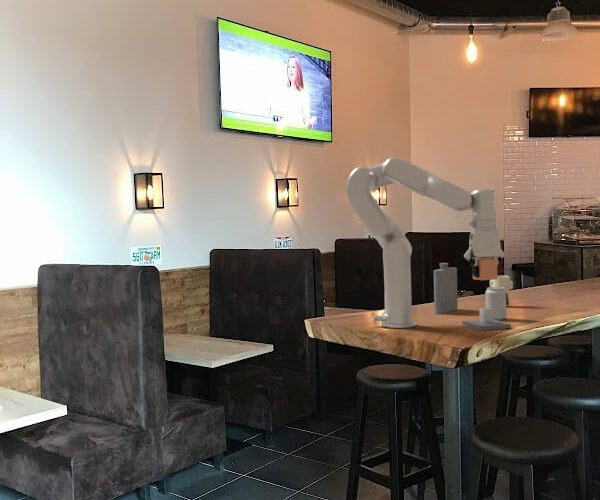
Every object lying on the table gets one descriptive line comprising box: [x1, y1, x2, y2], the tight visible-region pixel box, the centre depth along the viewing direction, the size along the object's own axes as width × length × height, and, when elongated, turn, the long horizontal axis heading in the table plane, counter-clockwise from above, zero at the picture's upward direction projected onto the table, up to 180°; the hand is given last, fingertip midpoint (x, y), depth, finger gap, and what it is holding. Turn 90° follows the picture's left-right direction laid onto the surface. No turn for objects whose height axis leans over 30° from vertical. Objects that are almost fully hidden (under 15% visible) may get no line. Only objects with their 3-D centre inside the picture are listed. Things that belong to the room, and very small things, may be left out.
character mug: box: [489, 275, 514, 306], centre depth 275 cm, size 11×7×13 cm, turn 41°
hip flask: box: [433, 262, 458, 315], centre depth 265 cm, size 16×4×20 cm, turn 139°
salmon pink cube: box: [472, 257, 498, 281], centre depth 225 cm, size 6×6×7 cm
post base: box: [461, 307, 512, 332], centre depth 225 cm, size 12×12×6 cm
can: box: [484, 286, 507, 321], centre depth 241 cm, size 8×8×12 cm
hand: (485, 276), depth 225 cm, fingers closed on salmon pink cube, 6 cm apart
